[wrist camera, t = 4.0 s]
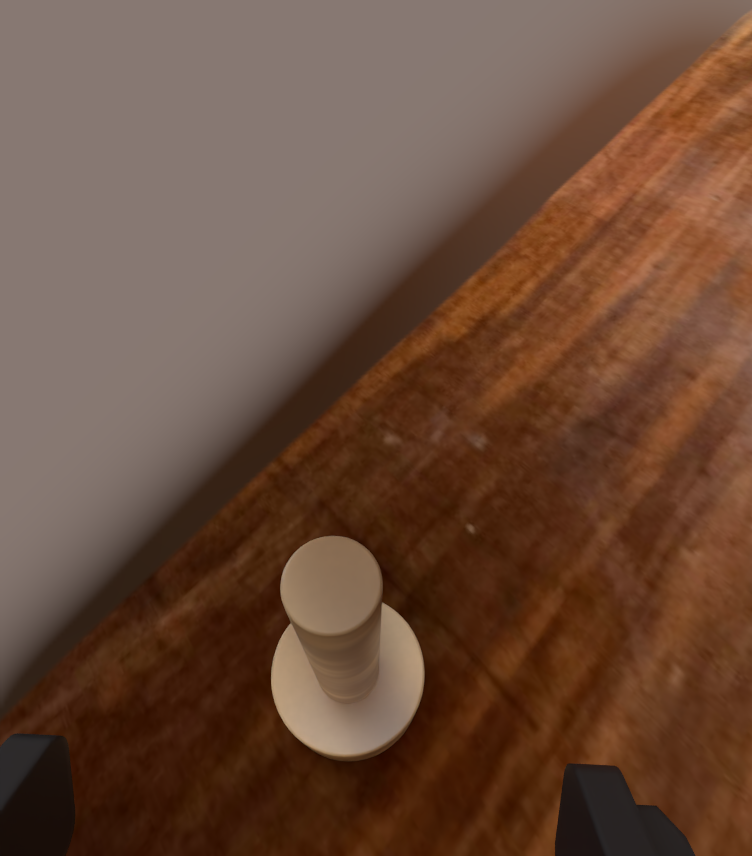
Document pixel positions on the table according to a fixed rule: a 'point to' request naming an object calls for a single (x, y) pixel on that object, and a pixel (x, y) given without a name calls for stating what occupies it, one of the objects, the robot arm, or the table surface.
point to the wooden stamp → (343, 654)
